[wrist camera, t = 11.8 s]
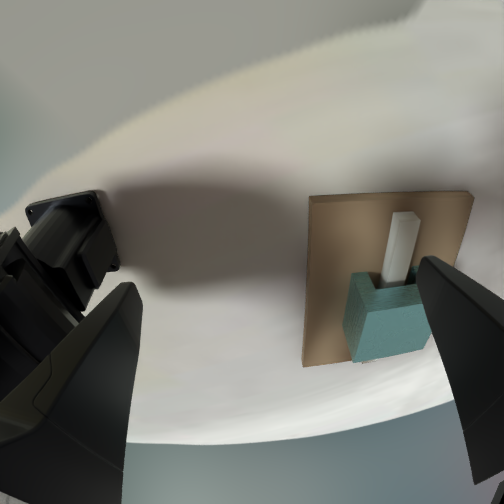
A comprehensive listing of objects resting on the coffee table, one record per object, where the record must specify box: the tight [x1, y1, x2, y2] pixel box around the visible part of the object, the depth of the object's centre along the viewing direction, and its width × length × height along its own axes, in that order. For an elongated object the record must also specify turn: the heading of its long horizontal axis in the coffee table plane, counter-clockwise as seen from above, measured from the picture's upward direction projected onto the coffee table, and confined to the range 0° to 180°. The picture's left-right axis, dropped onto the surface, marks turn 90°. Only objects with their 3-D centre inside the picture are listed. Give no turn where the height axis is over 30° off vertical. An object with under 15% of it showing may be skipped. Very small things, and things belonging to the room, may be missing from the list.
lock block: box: [342, 265, 432, 363], centre depth 22 cm, size 6×6×4 cm
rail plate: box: [302, 191, 474, 367], centre depth 24 cm, size 13×18×2 cm
